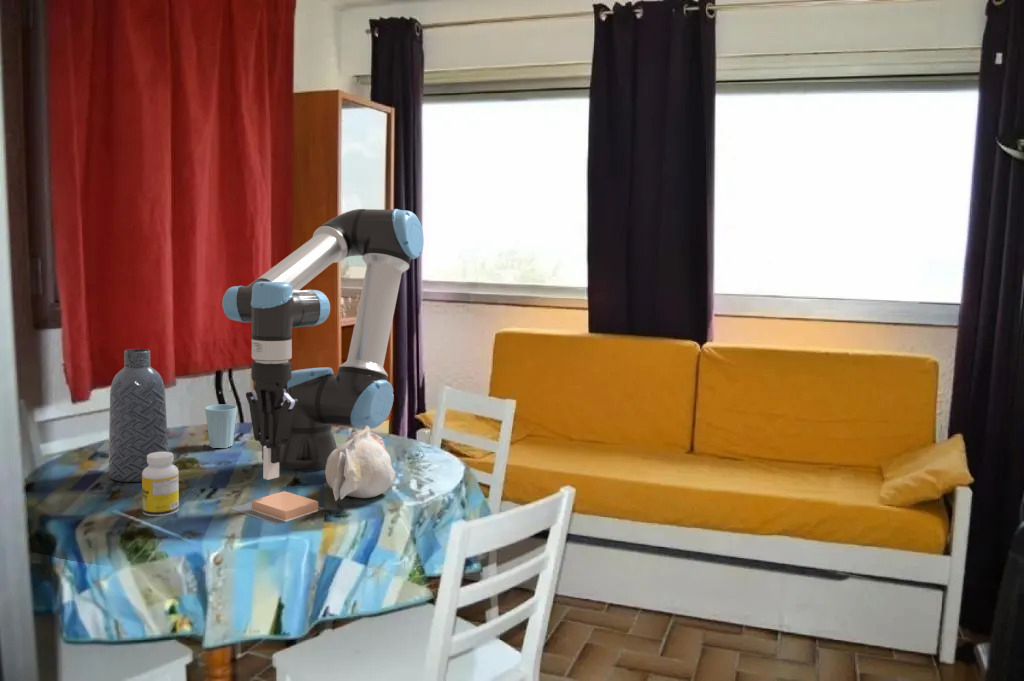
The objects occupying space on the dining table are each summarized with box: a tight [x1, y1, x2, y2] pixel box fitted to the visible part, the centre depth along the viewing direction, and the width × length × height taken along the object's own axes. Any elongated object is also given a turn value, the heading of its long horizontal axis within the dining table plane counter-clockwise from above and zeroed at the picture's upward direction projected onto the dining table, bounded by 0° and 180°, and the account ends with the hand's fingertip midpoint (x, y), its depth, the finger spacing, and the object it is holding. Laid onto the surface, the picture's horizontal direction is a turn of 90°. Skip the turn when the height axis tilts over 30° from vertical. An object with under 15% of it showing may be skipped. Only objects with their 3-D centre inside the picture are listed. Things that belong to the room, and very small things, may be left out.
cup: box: [204, 403, 238, 449], centre depth 200 cm, size 8×8×10 cm
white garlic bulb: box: [324, 425, 397, 502], centre depth 164 cm, size 16×19×15 cm
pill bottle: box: [141, 451, 180, 517], centre depth 150 cm, size 6×6×12 cm
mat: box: [229, 501, 326, 526], centre depth 154 cm, size 14×12×1 cm
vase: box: [108, 348, 169, 483], centre depth 173 cm, size 12×12×28 cm
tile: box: [251, 490, 319, 523], centre depth 153 cm, size 2×8×10 cm
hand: (271, 477), depth 155 cm, fingers closed
